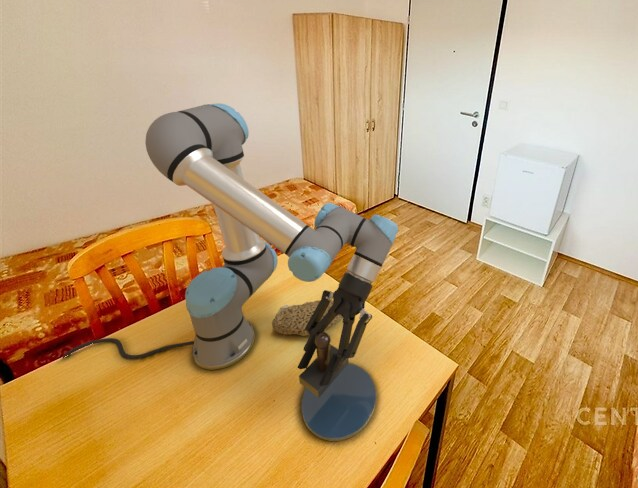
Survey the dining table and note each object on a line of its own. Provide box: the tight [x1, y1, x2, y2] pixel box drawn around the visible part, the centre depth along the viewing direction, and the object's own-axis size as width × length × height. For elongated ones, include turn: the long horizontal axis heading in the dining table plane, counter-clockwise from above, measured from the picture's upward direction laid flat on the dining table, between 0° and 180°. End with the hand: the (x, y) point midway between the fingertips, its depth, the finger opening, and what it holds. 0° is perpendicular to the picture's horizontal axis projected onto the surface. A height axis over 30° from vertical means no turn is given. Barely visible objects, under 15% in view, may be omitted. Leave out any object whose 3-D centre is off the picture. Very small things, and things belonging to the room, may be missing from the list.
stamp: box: [298, 331, 350, 398], centre depth 72 cm, size 10×6×13 cm, turn 148°
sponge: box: [271, 299, 343, 337], centre depth 97 cm, size 13×8×20 cm
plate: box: [301, 362, 377, 442], centre depth 79 cm, size 18×18×1 cm
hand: (312, 375), depth 70 cm, fingers closed on stamp, 6 cm apart
